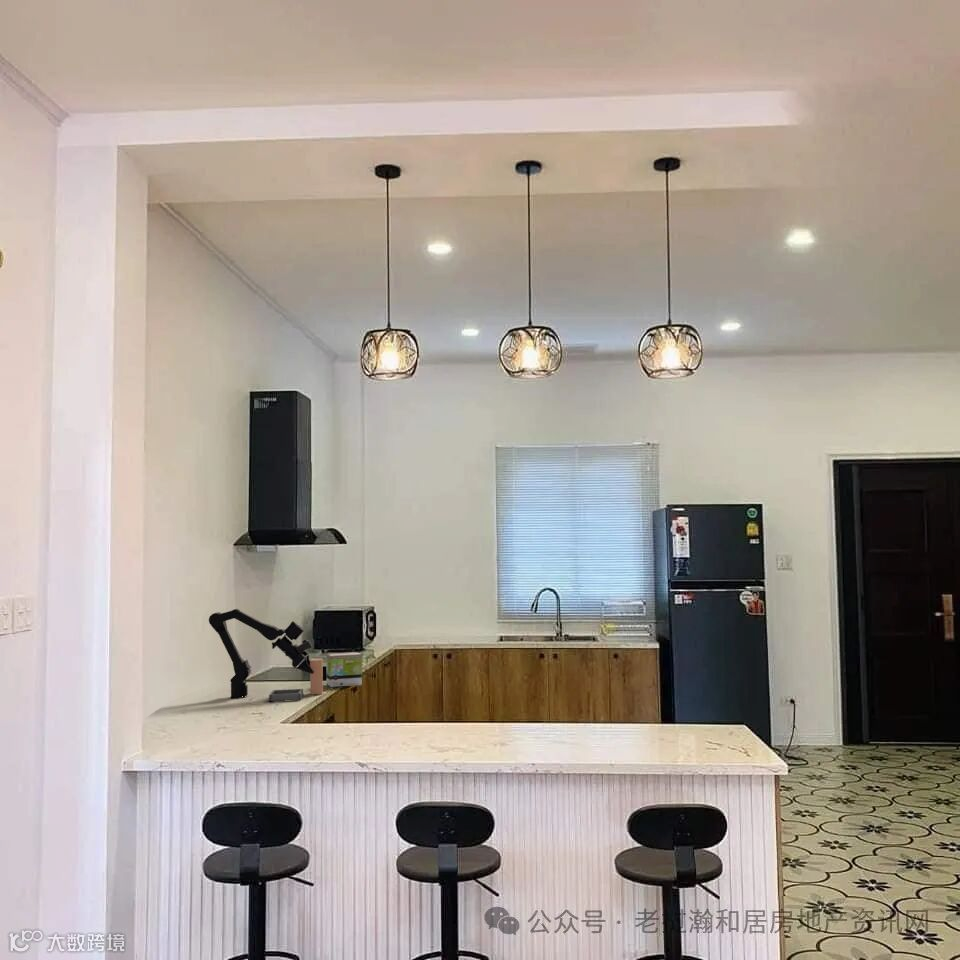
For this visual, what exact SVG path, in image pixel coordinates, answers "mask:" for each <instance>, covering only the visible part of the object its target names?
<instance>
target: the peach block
mask: <svg viewBox="0 0 960 960" xmlns="http://www.w3.org/2000/svg"><path fill="white" fill-rule="evenodd" d="M309 660H310V667H311V669H312V670H313V671H314V673H313V674H311V673H309V677H310V679H309V680H310V681H309V682H310V688H309V689H310V690H309V691H310V695H311V694H320V695H323V693H324V678H323V677H324V675H323V673H324V672H323V671H324V669H323V658H322V657H321V658H311V659H309Z"/></svg>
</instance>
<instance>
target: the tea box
mask: <svg viewBox="0 0 960 960" xmlns="http://www.w3.org/2000/svg"><path fill="white" fill-rule="evenodd" d="M362 655H363V654H361V653H360V652H357V651H356V652H355V651H354V652H353V651H352V652H337V653H336V652H335V653H326V667H325V669H326V675H325V676H326V677H325V678H326V680H325V681H326V685H327V684H328V685H329V686H330V687H329V686H328V685H327V686H328V687H329V688H336V687H350V686H352V687H353V686H362V684H363V683H362V681H363V657H362Z"/></svg>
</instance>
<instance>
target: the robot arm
mask: <svg viewBox="0 0 960 960" xmlns="http://www.w3.org/2000/svg"><path fill="white" fill-rule="evenodd" d="M233 619H235V620H236V621H239V622H241V623H243V624H244V625H247V626H249V627H250V628H252V629H254V630H256V631H257V632H258V633H260V635H262V636H263V637H264V638H266V639H267V640H268V641H274V640H275V641H274V642H272V643H271V648H272V649H273V650H274V649H275V648H276V647H277V648H278V649H279V650H280V651H281V652H282V653H284V654H285V655H284V656H285V657H287V658H289V659H290V660H291V662H292V663H291V666H292V667H293V668H294V669H296V670H299V671H303V672H306V673H308V674H310V673H311V674H313V673H314V671H313V670H312V669H311V667H310V660H311V659H310V654H309V652H308V651H307V650H308V649H311V648H313V644H312V642H311V641H310V640H309V639H303V640H302V643H300V644H299V645H298V644H297V643H296V644H295V643H293V641H296V640H297V639H299V637H300V636H301V635H302V634H303V633H304V632H305V629H304V628H303V627H302V626H301V625H299V624H298V623H297V622H295V621H294V620H293V621H292V622H291V623H290V624H289V625H288V626H287V627H286V629H284V628H283V629H281V628H278V627H277V626H275V625H273V624H272V625H271V624H267V623H264V622H262V621H260V620H258V619H256V618H254V617H253V616H251V615H249V614H247V613H245V612H244V611H241V610H240V609H238V608H234V609H231V610H230V611H226V612H219V611H218V612H217V611H216V612H215V613H212V614H210V616H209V618H208V623H209V626H211V627H212V628H213V630H214V631H215V632H216V633H217V634H218V635H219V638H220V640H221V642H222V644H223V646H224V648H225V650H226V652H227V654H228V656H229V658H230V661H232V666H233V671H234V675H233V676H232V677H231V678H230V680H229V681H230V697H242V696H243V697H244V698H246V697H247V696H248V695H249V689H248V688H249V686H248V684H247V681H246V680H247V678H249V677H250V676H251V673H252V666H251V665H250V664H249V661H248V659H246V660H244V659H243V658H242V657H241V654H240V652H239V650H238V648H237V646H236V644H235V642H234V640H233V637H232V636H231V633H230V632H229V630H228V626H227V621H230V620H233ZM283 635H284V636H283ZM245 696H246V697H245Z"/></svg>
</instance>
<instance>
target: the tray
mask: <svg viewBox="0 0 960 960" xmlns="http://www.w3.org/2000/svg"><path fill="white" fill-rule="evenodd" d="M268 696H269V697H268V702H269V701H283V702H286V701H285V700H300V701H302V699H303V697H304V688H293V689H288V688H287V689H273V690H272V691H271V692H270V693H269V694H268ZM302 696H303V697H302ZM301 698H302V699H301Z"/></svg>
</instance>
